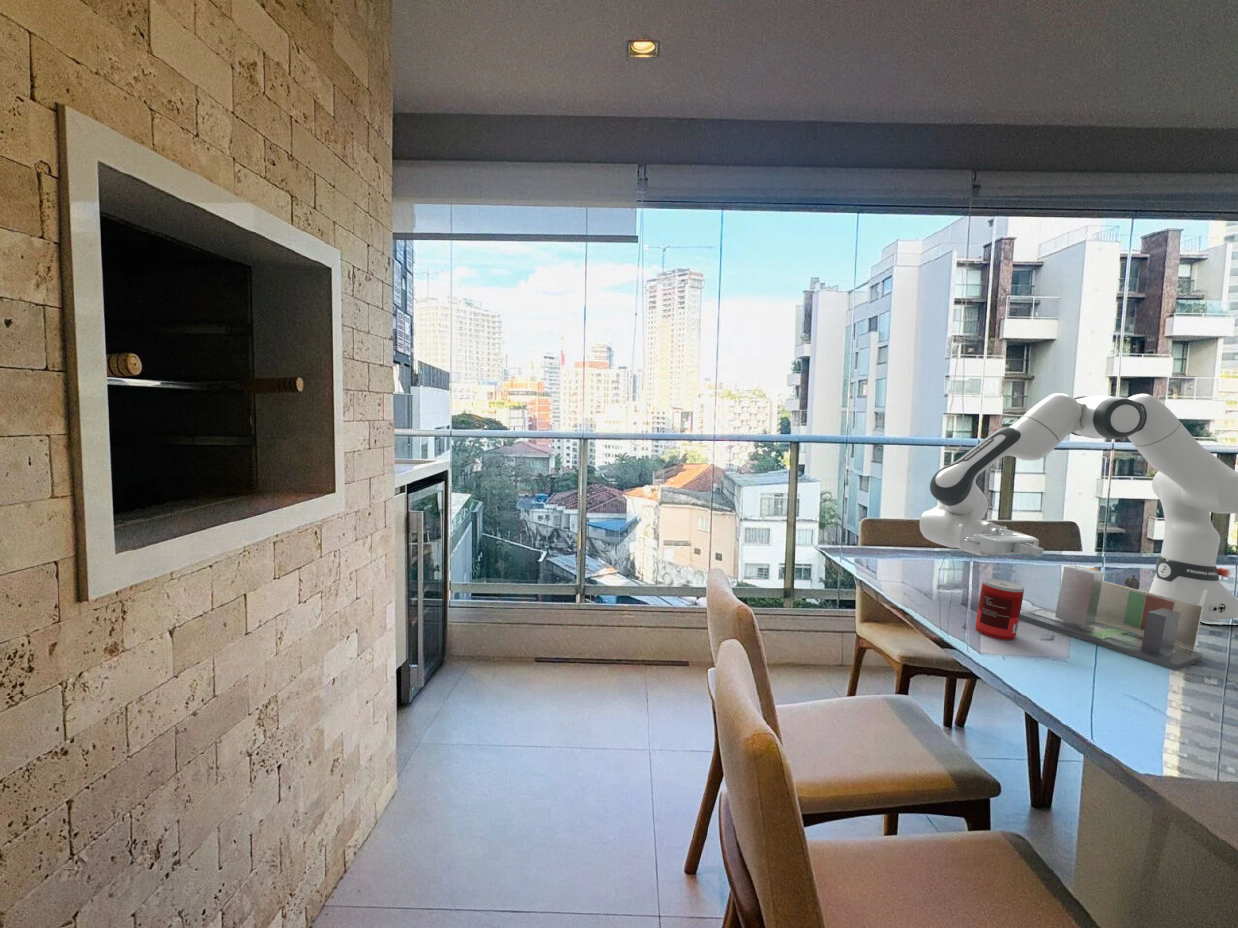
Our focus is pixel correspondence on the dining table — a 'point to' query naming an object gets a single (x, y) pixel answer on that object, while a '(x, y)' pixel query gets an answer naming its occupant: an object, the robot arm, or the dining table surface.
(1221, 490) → the robot arm
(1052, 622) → the base
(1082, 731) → the dining table surface
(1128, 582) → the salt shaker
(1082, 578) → the brushed steel slab
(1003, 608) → the canned food
